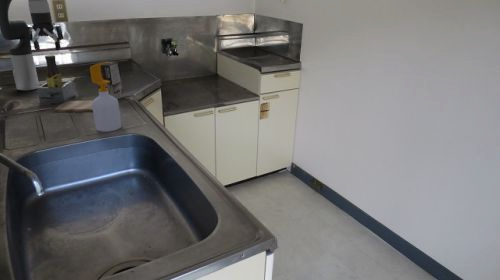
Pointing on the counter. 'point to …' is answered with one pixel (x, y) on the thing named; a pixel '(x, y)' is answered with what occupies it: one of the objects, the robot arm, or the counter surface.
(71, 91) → the grey open box
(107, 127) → the spray bottle
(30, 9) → the robot arm
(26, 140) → the counter surface
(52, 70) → the sauce bottle
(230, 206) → the counter surface
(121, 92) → the coffee box
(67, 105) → the walnut board
